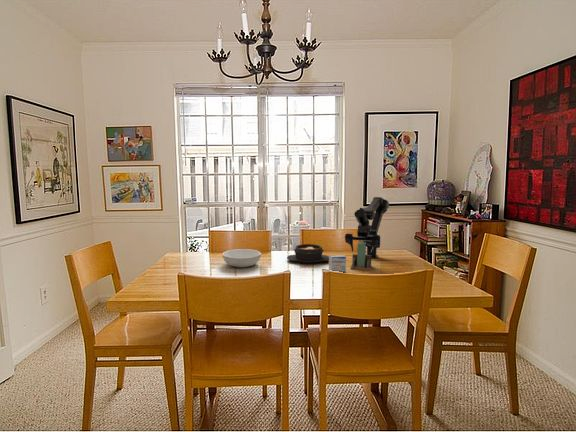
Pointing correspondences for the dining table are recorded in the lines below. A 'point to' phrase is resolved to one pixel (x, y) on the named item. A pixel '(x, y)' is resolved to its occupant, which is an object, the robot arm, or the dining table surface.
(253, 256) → the serving bowl
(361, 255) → the book
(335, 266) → the medicine box
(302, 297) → the dining table surface
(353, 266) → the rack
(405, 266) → the dining table surface
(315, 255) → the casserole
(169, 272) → the dining table surface
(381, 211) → the robot arm
